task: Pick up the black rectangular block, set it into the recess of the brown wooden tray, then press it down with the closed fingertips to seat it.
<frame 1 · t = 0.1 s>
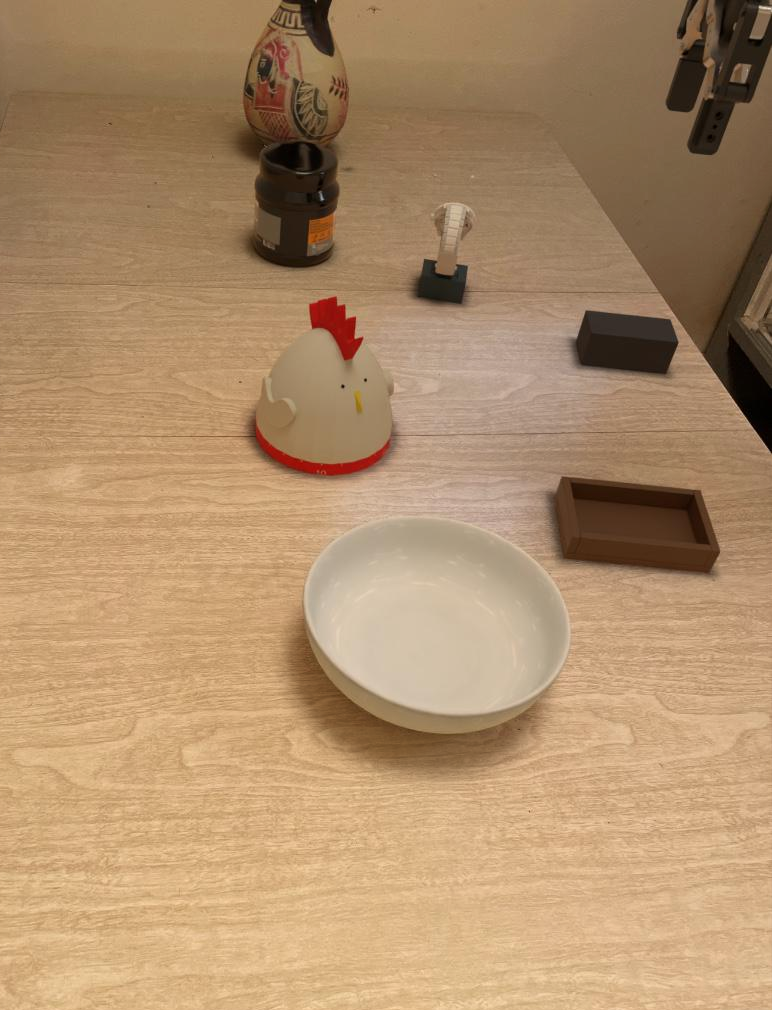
hand: (688, 130, 75), 33 cm above the table, tool pointing down, fingers open, 8 cm apart
black rectangular block: (619, 359, 113), on the table
supplement container: (293, 251, 125), on the table
serving bowl: (423, 662, 79), on the table
kitchen timer: (322, 435, 99), on the table
brown wooden tray: (628, 535, 92), on the table
cobra figurine: (439, 294, 120), on the table
ceramic jug: (296, 156, 145), on the table
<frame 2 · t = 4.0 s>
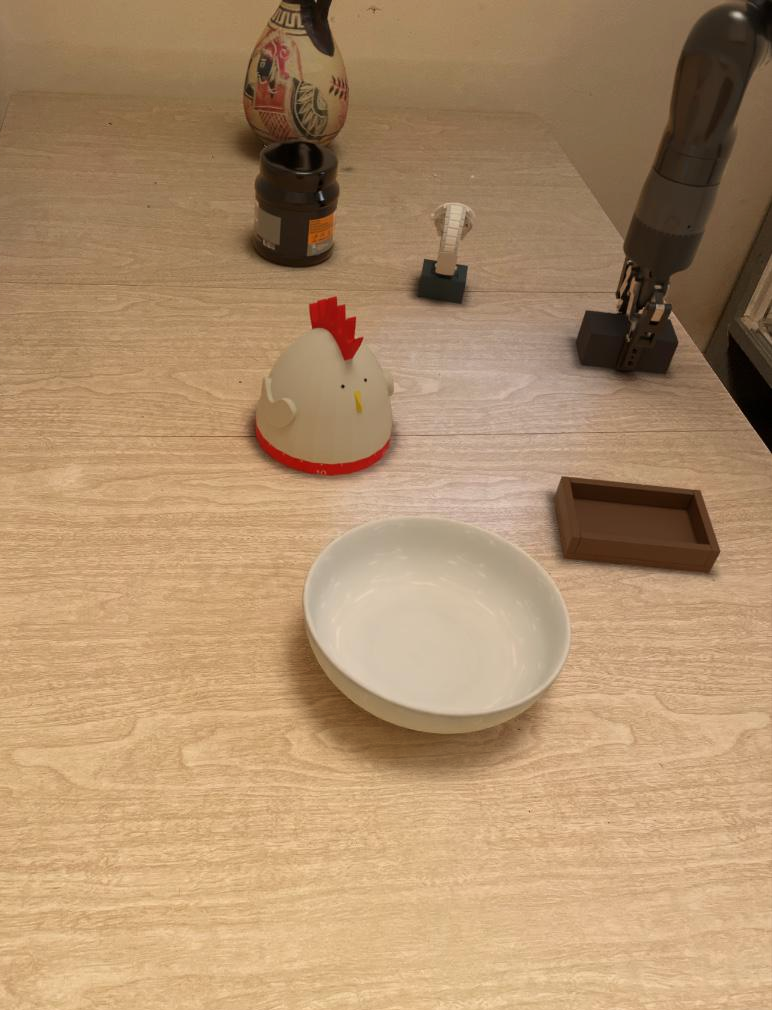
hand: (621, 355, 113), 1 cm above the table, tool pointing down, fingers closed on black rectangular block, 5 cm apart
black rectangular block: (619, 359, 113), on the table, touching gripper
everything else where it was.
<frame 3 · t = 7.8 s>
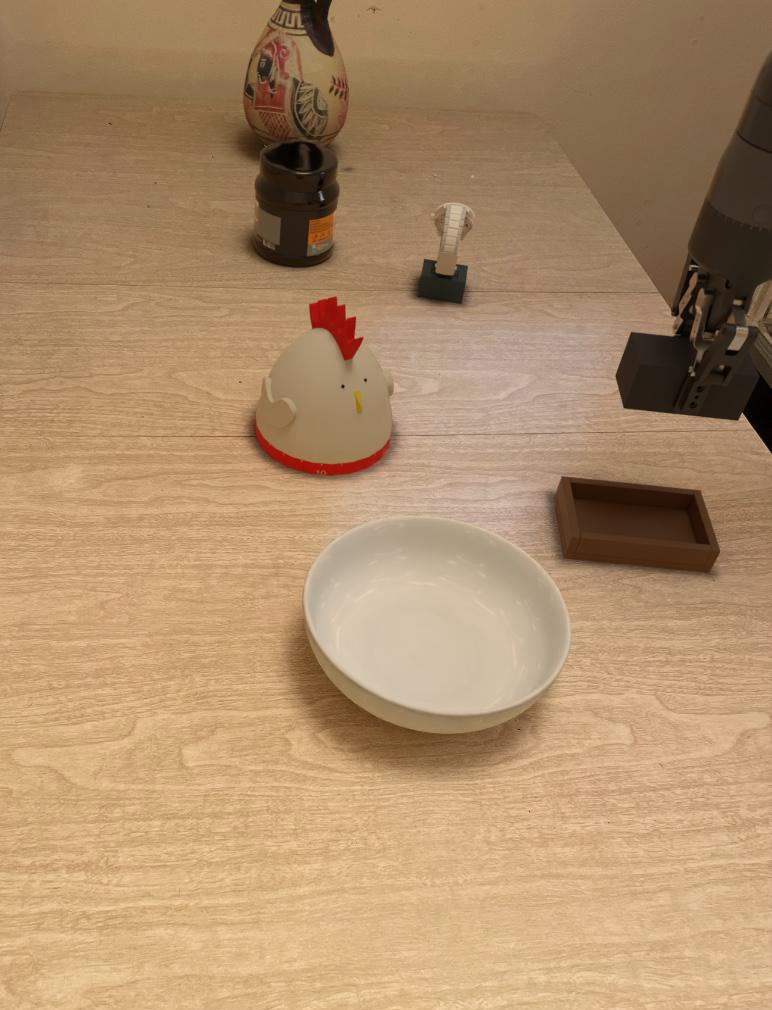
hand: (678, 392, 84), 14 cm above the table, tool pointing down, fingers closed on black rectangular block, 5 cm apart
black rectangular block: (675, 398, 84), point 14 cm above the table, touching gripper
everything else where it was.
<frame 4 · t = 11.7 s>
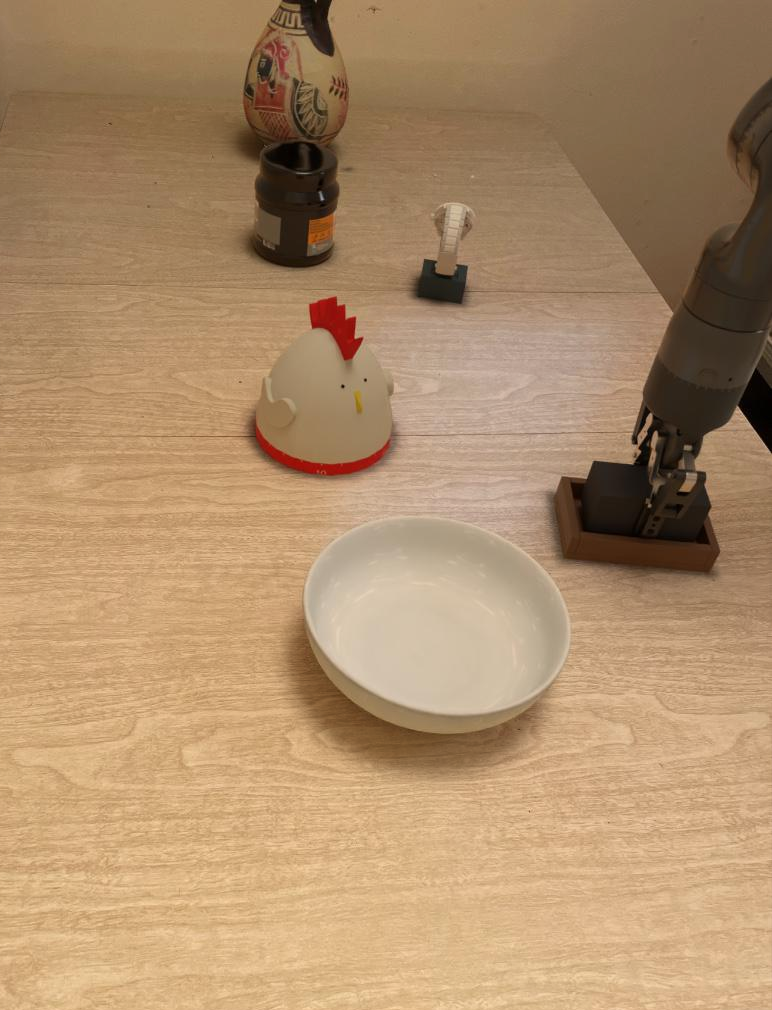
hand: (638, 514, 90), 3 cm above the table, tool pointing down, fingers closed on black rectangular block, 5 cm apart
black rectangular block: (635, 519, 90), point 2 cm above the table, touching gripper
everything else where it was.
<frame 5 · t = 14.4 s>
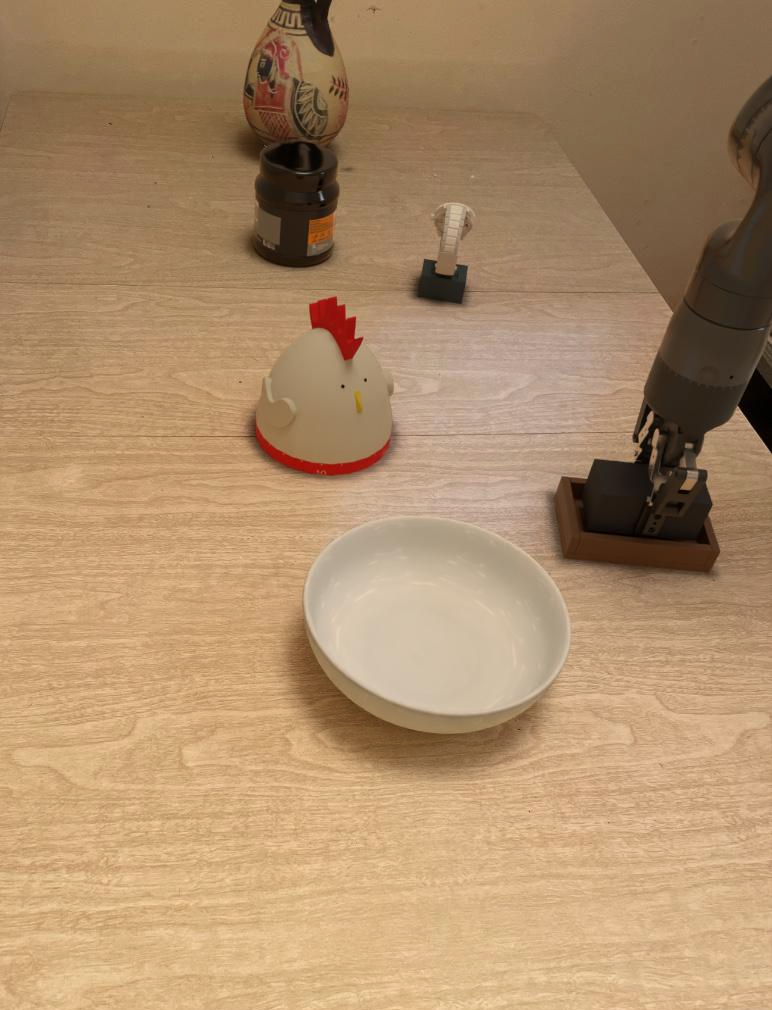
hand: (639, 512, 90), 3 cm above the table, tool pointing down, fingers closed on black rectangular block, 5 cm apart
black rectangular block: (636, 518, 90), point 2 cm above the table, touching gripper
everything else where it was.
when the fingers open (3 cm above the table, at t = 17.0 s): black rectangular block drops 1 cm, resting on brown wooden tray.
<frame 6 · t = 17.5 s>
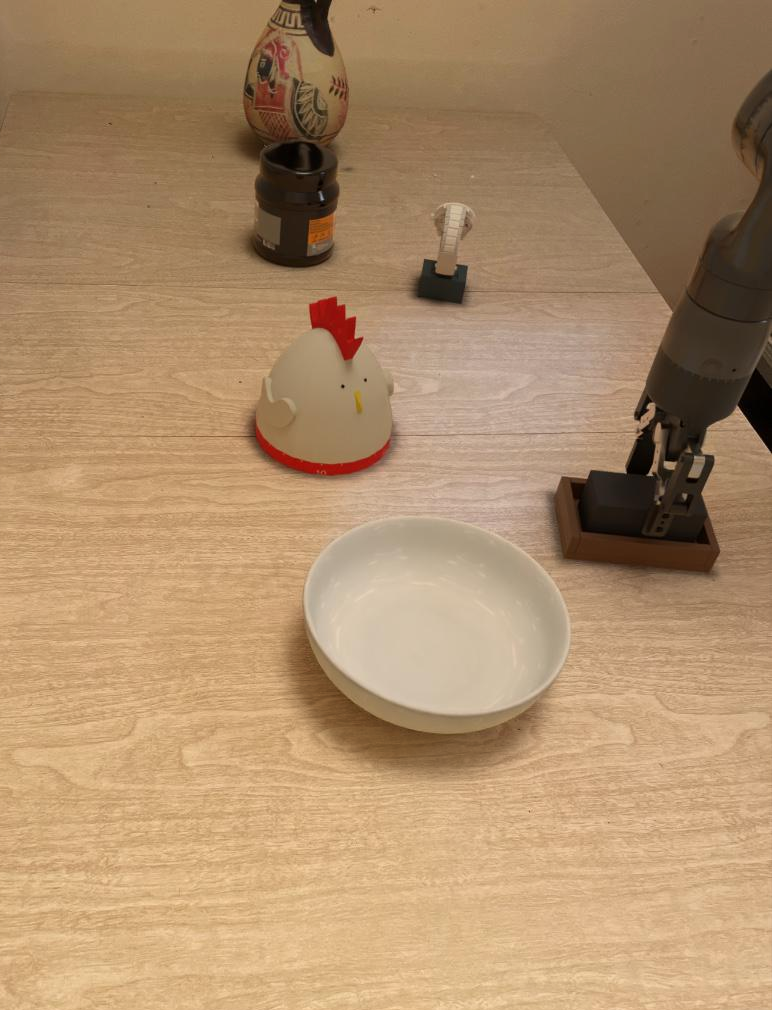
hand: (643, 501, 89), 4 cm above the table, tool pointing down, fingers open, 8 cm apart
black rectangular block: (632, 528, 91), point 1 cm above the table, touching brown wooden tray
everything else where it was.
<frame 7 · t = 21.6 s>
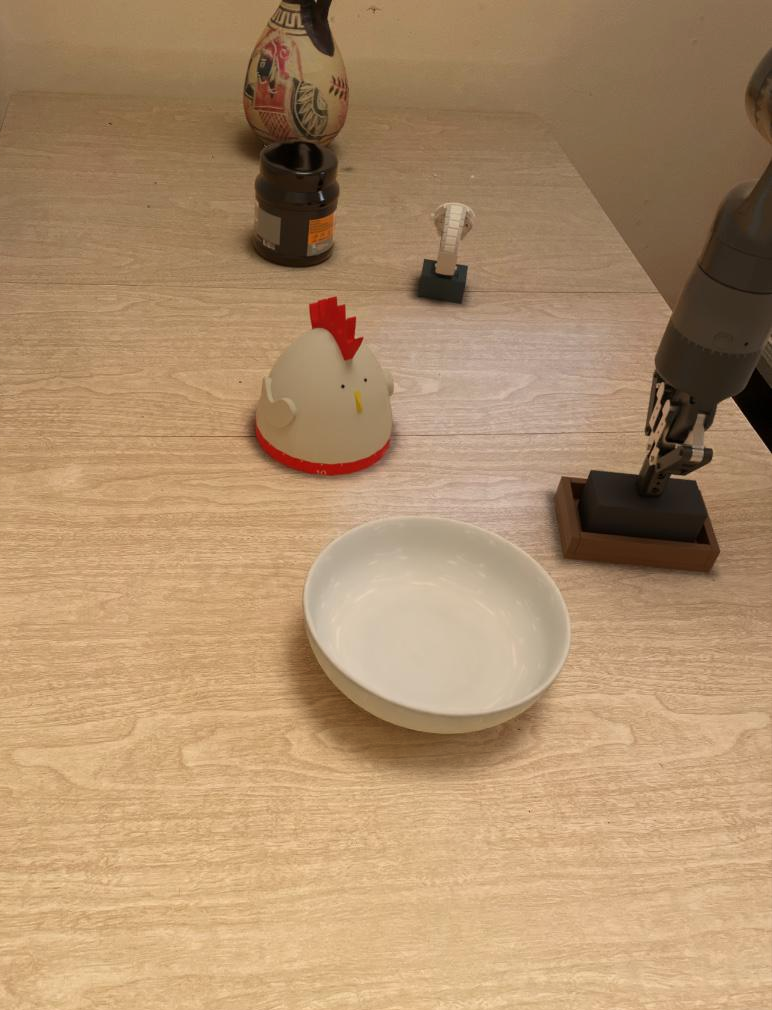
hand: (646, 492, 88), 6 cm above the table, tool pointing down, fingers closed
black rectangular block: (632, 528, 91), point 1 cm above the table, touching brown wooden tray, gripper
everything else where it was.
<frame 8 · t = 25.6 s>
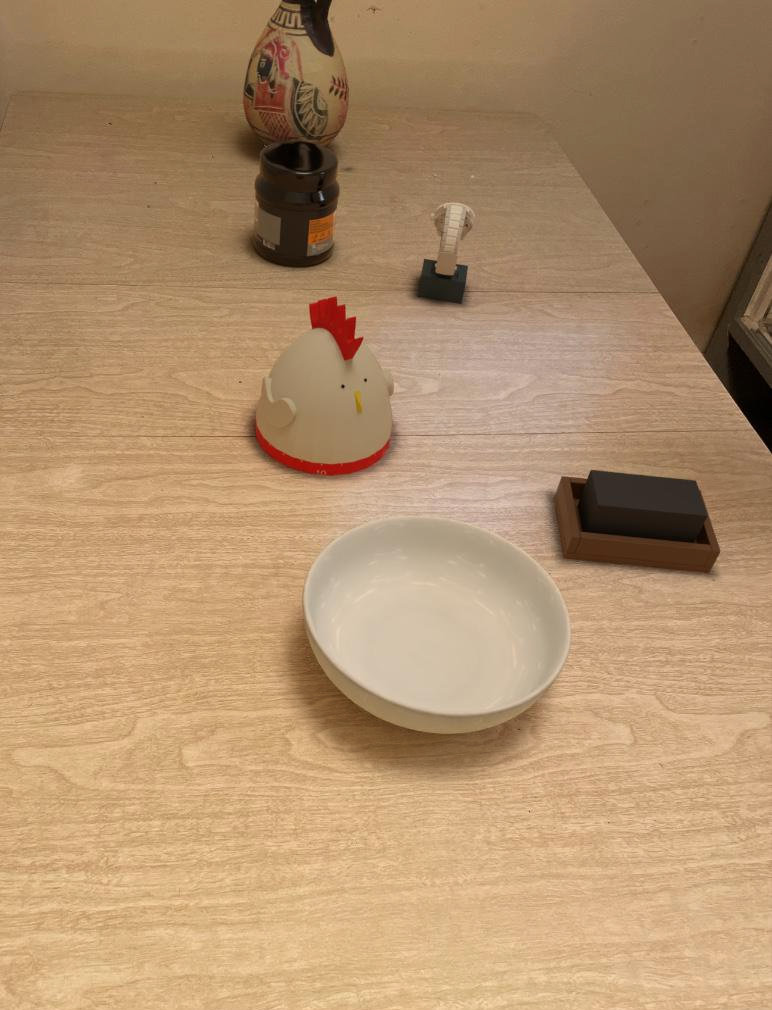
black rectangular block: (632, 528, 91), point 1 cm above the table, touching brown wooden tray
everything else where it was.
at the end: black rectangular block 0.1 cm off-centre in the brown wooden tray, point 1.0 cm above the brown wooden tray's base; black rectangular block tilted 0° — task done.
